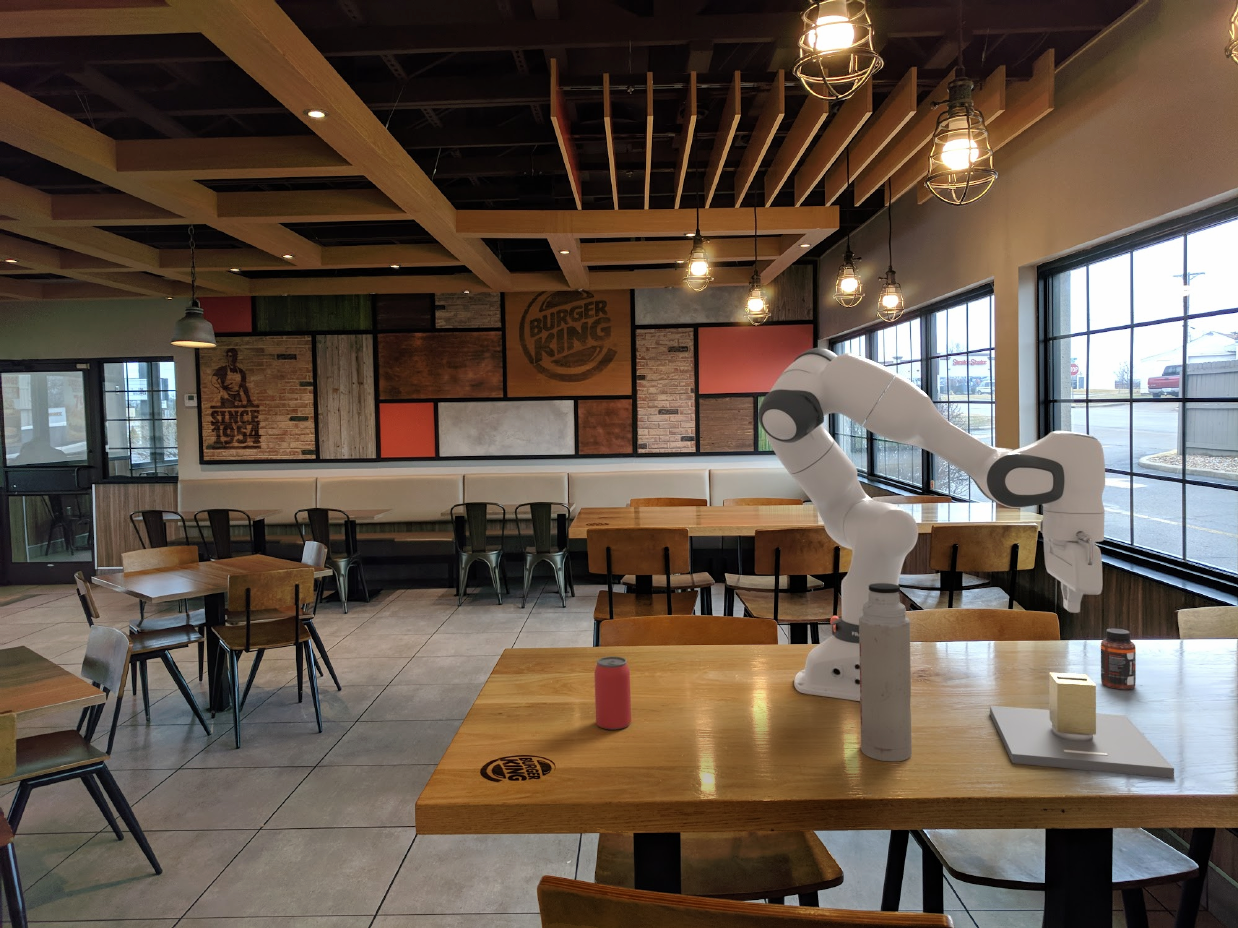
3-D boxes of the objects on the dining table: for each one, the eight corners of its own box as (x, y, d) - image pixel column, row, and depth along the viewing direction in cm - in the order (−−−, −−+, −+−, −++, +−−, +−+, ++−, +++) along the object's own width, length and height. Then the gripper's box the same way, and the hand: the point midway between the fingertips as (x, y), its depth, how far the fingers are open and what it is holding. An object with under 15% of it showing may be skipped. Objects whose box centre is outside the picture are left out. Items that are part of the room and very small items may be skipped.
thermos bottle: (853, 753, 127) (850, 586, 126) (871, 738, 133) (869, 578, 132) (901, 765, 122) (899, 591, 121) (918, 749, 128) (916, 583, 127)
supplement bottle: (1141, 691, 153) (1141, 634, 152) (1108, 690, 154) (1108, 634, 153) (1127, 681, 158) (1127, 627, 158) (1095, 680, 160) (1095, 626, 159)
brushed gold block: (1057, 731, 127) (1057, 681, 127) (1049, 719, 133) (1049, 671, 132) (1095, 734, 126) (1095, 683, 125) (1086, 721, 131) (1086, 673, 131)
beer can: (600, 733, 139) (598, 667, 139) (592, 720, 145) (590, 657, 145) (635, 728, 141) (633, 663, 140) (625, 715, 147) (624, 654, 147)
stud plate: (1012, 762, 122) (1011, 704, 122) (989, 713, 143) (989, 663, 143) (1174, 777, 116) (1174, 715, 115) (1125, 723, 137) (1125, 670, 136)
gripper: (1115, 537, 117) (1113, 626, 118) (1077, 522, 137) (1075, 598, 137) (1068, 535, 119) (1067, 624, 120) (1037, 521, 139) (1036, 597, 139)
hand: (1071, 610), depth 129 cm, fingers closed
